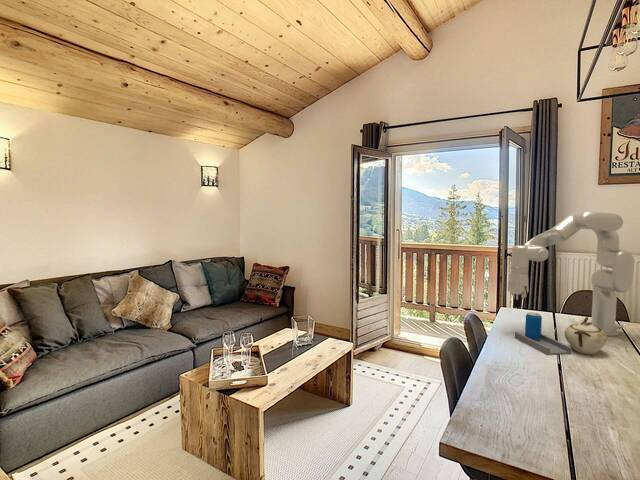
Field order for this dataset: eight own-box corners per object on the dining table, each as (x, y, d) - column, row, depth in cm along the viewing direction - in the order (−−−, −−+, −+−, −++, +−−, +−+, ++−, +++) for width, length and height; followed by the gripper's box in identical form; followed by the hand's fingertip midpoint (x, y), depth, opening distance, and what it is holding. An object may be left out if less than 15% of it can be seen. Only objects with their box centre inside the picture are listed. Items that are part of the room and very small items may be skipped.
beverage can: (543, 341, 171) (544, 315, 170) (529, 341, 171) (530, 315, 171) (535, 336, 178) (537, 312, 177) (522, 336, 178) (523, 311, 177)
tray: (535, 336, 180) (535, 331, 180) (571, 353, 158) (571, 347, 158) (514, 337, 179) (514, 332, 179) (547, 355, 157) (547, 348, 157)
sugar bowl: (600, 361, 150) (603, 325, 149) (558, 351, 161) (559, 317, 160) (610, 349, 163) (612, 316, 162) (570, 341, 174) (571, 309, 173)
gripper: (503, 268, 190) (501, 303, 191) (522, 273, 175) (519, 311, 177) (516, 268, 191) (514, 303, 192) (537, 273, 176) (534, 311, 177)
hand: (517, 307), depth 184 cm, fingers closed
